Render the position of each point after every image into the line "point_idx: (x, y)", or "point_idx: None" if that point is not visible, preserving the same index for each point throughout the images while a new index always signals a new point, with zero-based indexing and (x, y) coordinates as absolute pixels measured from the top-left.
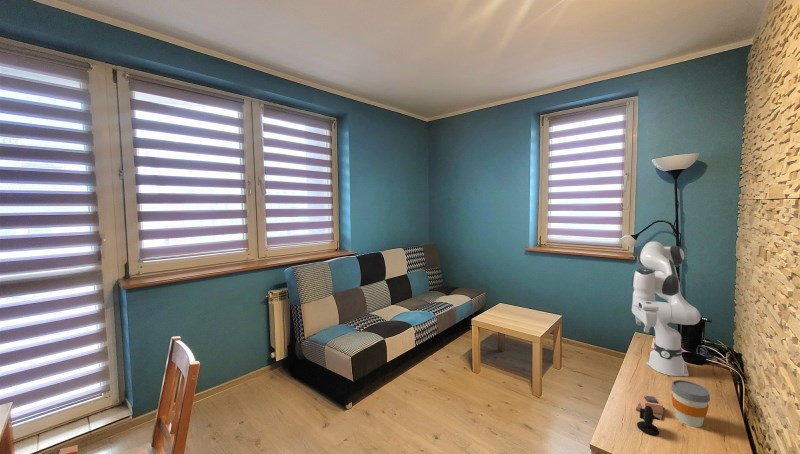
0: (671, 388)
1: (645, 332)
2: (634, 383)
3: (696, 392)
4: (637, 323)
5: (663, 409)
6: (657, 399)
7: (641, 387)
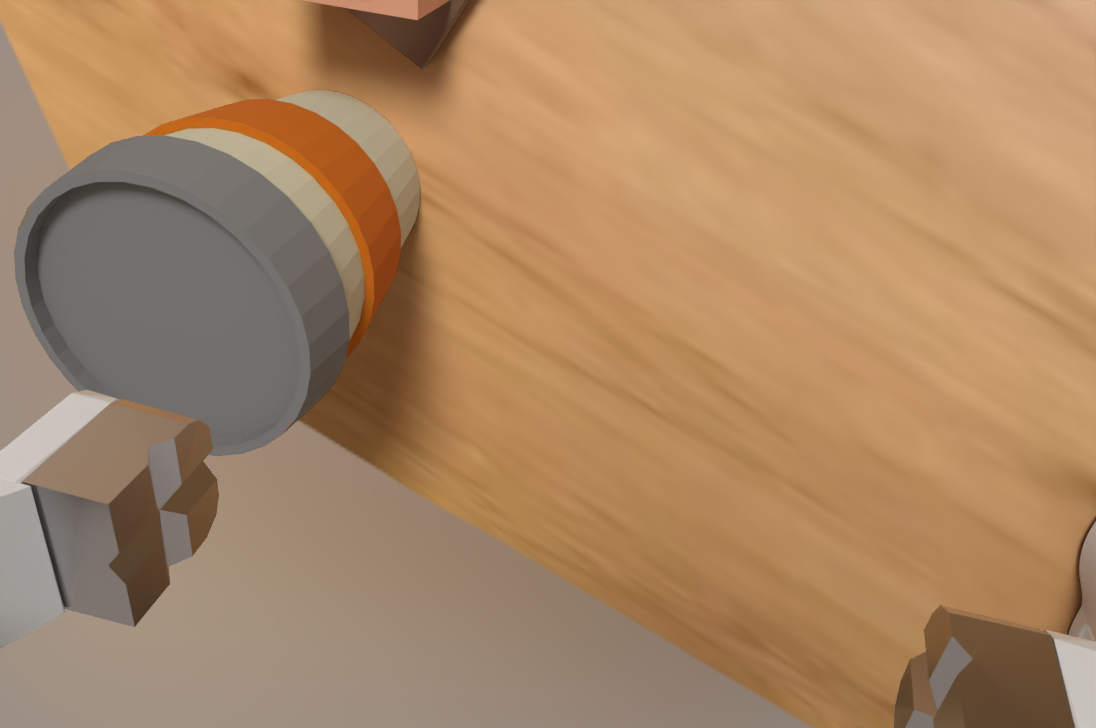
0: (215, 155)
1: (99, 399)
2: (948, 15)
3: (122, 330)
4: (961, 667)
5: (393, 35)
6: (369, 4)
7: (850, 56)
